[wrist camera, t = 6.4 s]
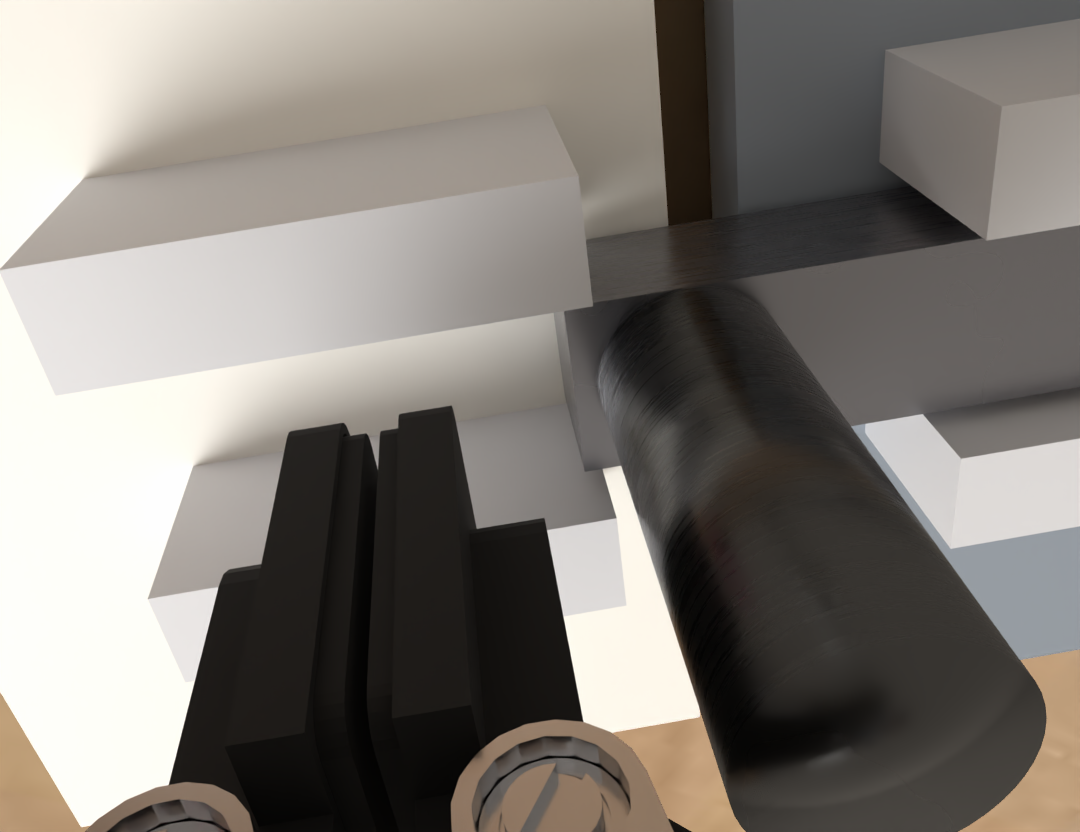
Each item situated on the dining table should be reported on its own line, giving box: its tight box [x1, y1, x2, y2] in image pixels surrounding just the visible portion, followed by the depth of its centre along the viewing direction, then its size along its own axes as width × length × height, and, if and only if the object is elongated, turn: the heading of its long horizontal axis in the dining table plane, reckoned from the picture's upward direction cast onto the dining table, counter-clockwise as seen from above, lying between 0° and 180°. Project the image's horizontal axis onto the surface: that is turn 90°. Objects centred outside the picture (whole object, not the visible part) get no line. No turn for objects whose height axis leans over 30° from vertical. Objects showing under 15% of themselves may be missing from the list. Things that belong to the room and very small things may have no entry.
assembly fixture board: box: [0, 0, 1080, 827], centre depth 14 cm, size 18×22×4 cm
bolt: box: [554, 186, 1080, 832], centre depth 11 cm, size 2×10×8 cm, turn 97°
